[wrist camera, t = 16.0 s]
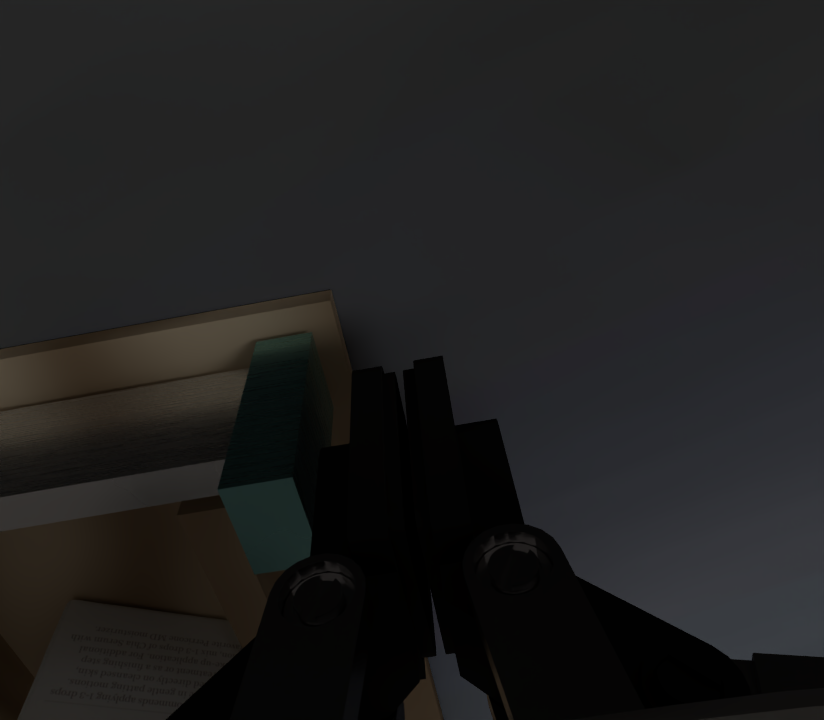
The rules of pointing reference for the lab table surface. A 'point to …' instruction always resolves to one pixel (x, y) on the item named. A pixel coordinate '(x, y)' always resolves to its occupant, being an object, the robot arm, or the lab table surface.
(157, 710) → the skincare box
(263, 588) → the rest
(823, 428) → the lab table surface
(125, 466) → the gate
